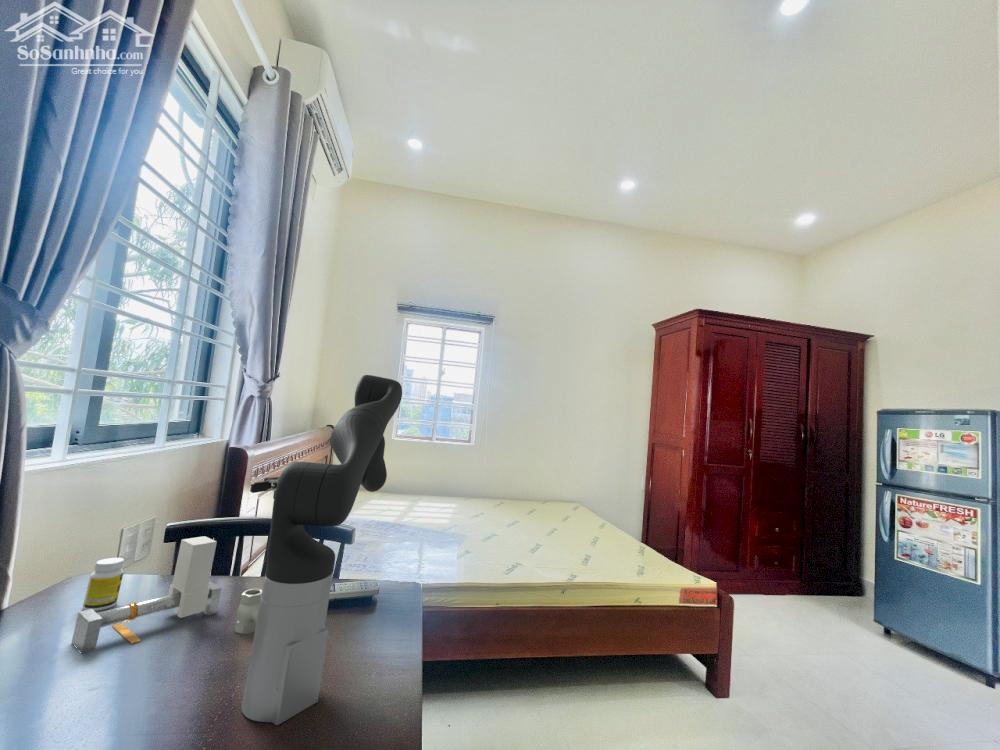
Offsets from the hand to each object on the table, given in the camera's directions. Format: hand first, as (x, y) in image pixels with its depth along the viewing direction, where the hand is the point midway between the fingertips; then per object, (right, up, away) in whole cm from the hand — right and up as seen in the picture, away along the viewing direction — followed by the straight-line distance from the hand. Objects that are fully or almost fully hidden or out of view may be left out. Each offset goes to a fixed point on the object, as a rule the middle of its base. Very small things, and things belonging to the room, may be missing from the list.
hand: (262, 491), depth 89 cm
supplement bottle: (-24, -19, -13) cm, 33 cm away
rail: (-10, -19, -18) cm, 28 cm away
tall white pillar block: (-7, -19, -13) cm, 24 cm away
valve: (+10, -22, -17) cm, 29 cm away
